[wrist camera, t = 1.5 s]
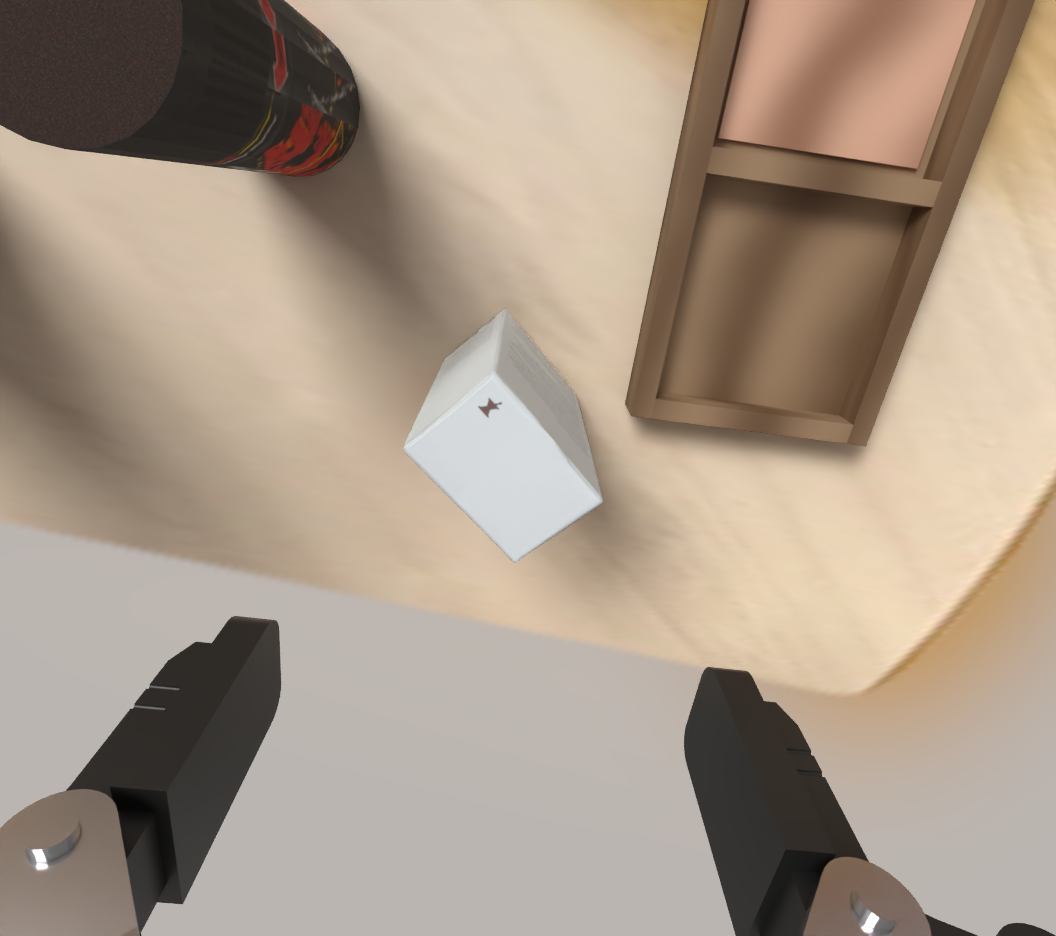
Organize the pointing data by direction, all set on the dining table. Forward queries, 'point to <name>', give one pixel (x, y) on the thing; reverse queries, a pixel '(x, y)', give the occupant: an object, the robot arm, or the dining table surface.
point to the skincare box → (506, 439)
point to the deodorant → (178, 82)
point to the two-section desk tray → (812, 206)
